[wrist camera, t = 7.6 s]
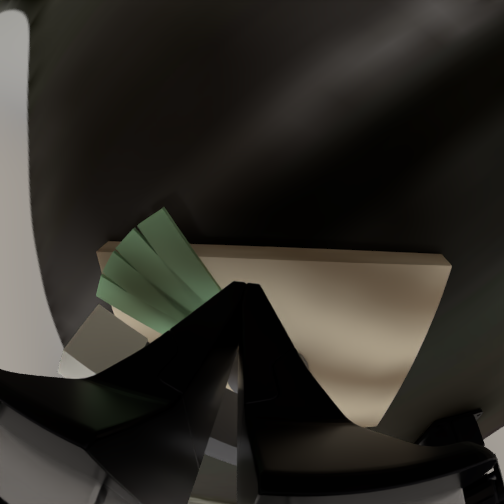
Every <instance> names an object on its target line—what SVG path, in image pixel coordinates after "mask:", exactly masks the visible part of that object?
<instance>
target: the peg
mask: <svg viewBox="0 0 504 504" xmlns="http://www.w3.org/2000/svg"><path fill="white" fill-rule="evenodd" d="M148 344H150V343H149V342H148V338H146V337H145V336H143V335H142V334H140V333H139V332H137V331H136V330H134V329H133V328H131V327H130V326H129V325H127V324H126V323H124V322H123V321H121V320H120V319H119V318H117V317H116V316H115V315H113V314H112V313H111V312H109V311H108V310H106V309H105V308H104V307H102V306H101V305H100V304H98V305H97V307H96V308H95V309H94V310H93V312H92V313H91V314H90V315H89V317H88V318H87V319H86V321H85V322H84V323H83V324H82V326H81V327H80V328H79V330H78V331H77V332H76V334H75V335H74V336H73V338H72V339H71V340H70V342H69V343H68V344H67V346H66V347H65V348H64V350H63V353H62V356H61V360H60V364H59V367H58V371H57V372H58V373H59V374H60V375H62V376H63V377H64V378H71V379H80V378H87V377H90V376H93V375H96V374H98V373H100V372H102V371H103V370H105V369H107V368H109V367H111V366H112V365H114V364H116V363H118V362H119V361H121V360H123V359H125V358H126V357H128V356H130V355H132V354H133V353H135V352H137V351H138V350H140V349H142V348H143V347H145V346H147V345H148ZM237 398H238V394H237V393H235V392H233V391H231V390H229V389H227V388H226V389H225V392H224V395H223V398H222V401H221V404H220V407H219V410H218V413H217V416H216V420H215V423H214V426H213V429H212V432H211V435H210V438H209V441H208V444H207V447H206V450H205V453H204V454H206V455H209V456H211V457H214V458H217V459H219V460H222V461H225V462H228V463H230V464H233V465H236V466H237Z"/></svg>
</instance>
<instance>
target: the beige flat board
mask: <svg viewBox="0 0 504 504" xmlns="http://www.w3.org/2000/svg"><path fill="white" fill-rule="evenodd" d="M137 226H138V228H139V229H140V231H141V232H142V233H143V235H144V236H145V238H146V239H147V240H146V239H145V238H144V236H143V235H142V234H141V233H140V232H139V231H138V230H137V229H136V228H133V229H132V231H131V232H130V233H129V234H128V235H127V236H126V237H125V238H124V239H123V240H122V241H121V242H115V241H108V242H107V243H106V244H104V245H103V246H102V247H101V248H100V249H99V250H98V251H96V252H97V257H98V260H99V264H100V268H101V272H102V275H101V277H100V281H99V285H98V290H97V294H96V296H97V297H99V298H100V299H102V300H104V301H105V302H107V303H109V304H110V305H111V306H112V309H113V312H114V315H115V316H116V317H117V318H119V319H120V320H121V321H123V322H124V323H126V324H127V325H129V326H130V327H131V328H133V329H134V330H136V331H137V332H139V333H140V334H142V335H143V336H145V337H146V338H148V342H149V343H151V342H152V341H154V340H155V339H157V338H158V337H160V336H161V335H162V334H164V333H165V332H166V331H168V330H169V331H170V329H171V328H172V327H173V326H175V325H176V324H177V323H179V322H180V321H181V320H183V319H184V318H185V317H187V316H188V315H189V314H190V313H192V312H193V311H194V310H196V309H197V308H198V307H200V306H201V305H202V304H204V303H205V302H206V301H208V300H209V299H210V298H212V297H213V296H214V295H216V294H217V293H218V292H220V291H221V290H222V289H224V288H225V287H226V286H227V285H229V284H230V283H231V282H233V281H239V282H245V283H246V284H247V283H256V284H260V285H261V287H262V289H263V291H264V292H265V294H266V296H267V298H268V300H269V301H270V303H271V305H272V307H273V309H274V310H275V312H276V314H277V316H278V318H279V319H280V321H281V323H282V325H283V326H284V328H285V330H286V332H287V334H288V335H289V337H290V339H291V341H292V343H293V344H294V346H295V348H296V349H297V351H298V353H299V355H300V357H301V358H302V360H303V361H304V363H305V365H306V366H307V368H308V369H309V371H310V372H311V373H312V375H313V376H314V378H315V379H316V380H317V382H318V383H319V384H320V385H321V387H322V388H323V389H324V390H325V392H326V393H327V394H328V395H329V397H330V398H331V399H332V400H333V402H334V403H335V404H336V405H337V407H338V408H339V409H340V410H341V412H342V413H343V414H344V415H345V416H346V417H347V418H348V419H349V420H351V421H352V422H353V423H355V424H357V425H358V426H361V427H373V426H377V425H378V423H379V422H380V420H381V419H382V417H383V416H384V414H385V412H386V411H387V409H388V407H389V406H390V404H391V402H392V401H393V399H394V397H395V395H396V394H397V392H398V390H399V388H400V387H401V385H402V383H403V381H404V379H405V377H406V375H407V374H408V372H409V370H410V368H411V366H412V364H413V362H414V360H415V358H416V356H417V354H418V352H419V349H420V347H421V345H422V343H423V341H424V339H425V336H426V334H427V332H428V329H429V327H430V325H431V322H432V320H433V317H434V315H435V312H436V310H437V307H438V305H439V302H440V299H441V297H442V294H443V291H444V288H445V285H446V283H447V280H448V277H449V273H450V270H451V267H452V265H451V264H450V263H449V262H448V261H447V260H446V259H445V258H444V256H443V255H442V254H427V253H405V252H383V251H360V250H336V249H312V248H287V247H261V246H234V245H206V244H189V243H188V241H187V240H186V238H185V237H184V235H183V234H182V232H181V231H180V230H179V228H178V227H177V225H176V224H175V222H174V221H173V219H172V218H171V216H170V215H169V213H168V212H167V210H166V209H165V207H163V208H162V209H160V210H159V211H157V212H156V213H154V214H153V215H151V216H150V217H148V218H147V219H145V220H144V221H142V222H141V223H139V224H138V225H137ZM238 348H239V346H238ZM226 388H227V389H229V390H231V391H233V392H235V393H237V394H238V350H237V354H236V357H235V360H234V364H233V367H232V370H231V373H230V376H229V379H228V382H227V386H226Z"/></svg>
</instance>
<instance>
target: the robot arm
mask: <svg viewBox="0 0 504 504" xmlns="http://www.w3.org/2000/svg"><path fill="white" fill-rule="evenodd" d="M238 346H239V348H238ZM237 350H238V398H237V504H504V482H503V478H502V474H501V470H500V468H499V464H498V459H497V457H496V455H495V454H493V452H491V451H490V450H489V449H487V448H486V447H484V446H485V444H484V441H483V438H482V435H481V432H480V430H479V427H478V424H477V421H476V420H477V419H478V418H479V417H480V416H481V415H482V414H483V411H482V409H480V410H476V411H473V412H470V413H466V414H462V415H459V416H455V417H451V418H446V419H442V420H438V421H436V422H434V423H433V424H432V426H431V427H430V428H429V429H428V430H427V431H426V433H425V434H424V435H423V436H422V437H421V438H420V439H419V440H418V442H417V443H416V444H413V443H410V442H406V441H403V440H400V439H396V438H393V437H390V436H387V435H384V434H381V433H378V432H375V431H372V430H369V429H366V428H363V427H361V426H358V425H357V424H355V423H353V422H352V421H351V420H349V419H348V418H347V417H346V416H345V415H344V414H343V413H342V412H341V410H340V409H339V408H338V407H337V405H336V404H335V403H334V402H333V400H332V399H331V398H330V397H329V395H328V394H327V393H326V392H325V390H324V389H323V388H322V387H321V385H320V384H319V383H318V382H317V380H316V379H315V378H314V376H313V375H312V373H311V372H310V371H309V369H308V368H307V366H306V365H305V363H304V361H303V360H302V358H301V357H300V355H299V353H298V351H297V349H296V348H295V346H294V344H293V343H292V341H291V339H290V337H289V335H288V334H287V332H286V330H285V328H284V326H283V325H282V323H281V321H280V319H279V318H278V316H277V314H276V312H275V310H274V309H273V307H272V305H271V303H270V301H269V300H268V298H267V296H266V294H265V292H264V291H263V289H262V287H261V285H260V284H256V283H247V284H246V283H245V282H239V281H233V282H231V283H230V284H229V285H227V286H226V287H225V288H224V289H222V290H221V291H220V292H218V293H217V294H216V295H214V296H213V297H212V298H210V299H209V300H208V301H206V302H205V303H204V304H202V305H201V306H200V307H198V308H197V309H196V310H194V311H193V312H192V313H190V314H189V315H188V316H187V317H185V318H184V319H183V320H181V321H180V322H179V323H177V324H176V325H175V326H173V327H172V328H171V329H170V331H169V330H168V331H166V332H165V333H164V334H162V335H161V336H160V337H158V338H157V339H155V340H154V341H152V342H151V343H150V344H148V345H147V346H145V347H143V348H142V349H140V350H138V351H137V352H135V353H133V354H132V355H130V356H128V357H126V358H125V359H123V360H121V361H119V362H118V363H116V364H114V365H112V366H111V367H109V368H107V369H105V370H103V371H102V372H100V373H98V374H96V375H93V376H90V377H87V378H80V379H71V378H57V377H44V376H35V375H27V374H19V373H14V372H9V371H5V370H1V369H0V504H187V503H188V500H189V497H190V494H191V492H192V489H193V486H194V483H195V480H196V477H197V474H198V471H199V468H200V465H201V462H202V459H203V456H204V453H205V450H206V447H207V444H208V441H209V438H210V435H211V432H212V429H213V426H214V423H215V420H216V416H217V413H218V410H219V407H220V404H221V401H222V398H223V395H224V392H225V389H226V386H227V382H228V379H229V376H230V373H231V370H232V367H233V364H234V360H235V357H236V354H237ZM492 468H494V471H493V472H491V473H489V474H487V473H486V472H488V471H489V470H490V469H492ZM485 473H486V474H485ZM482 475H483V476H482Z"/></svg>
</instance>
